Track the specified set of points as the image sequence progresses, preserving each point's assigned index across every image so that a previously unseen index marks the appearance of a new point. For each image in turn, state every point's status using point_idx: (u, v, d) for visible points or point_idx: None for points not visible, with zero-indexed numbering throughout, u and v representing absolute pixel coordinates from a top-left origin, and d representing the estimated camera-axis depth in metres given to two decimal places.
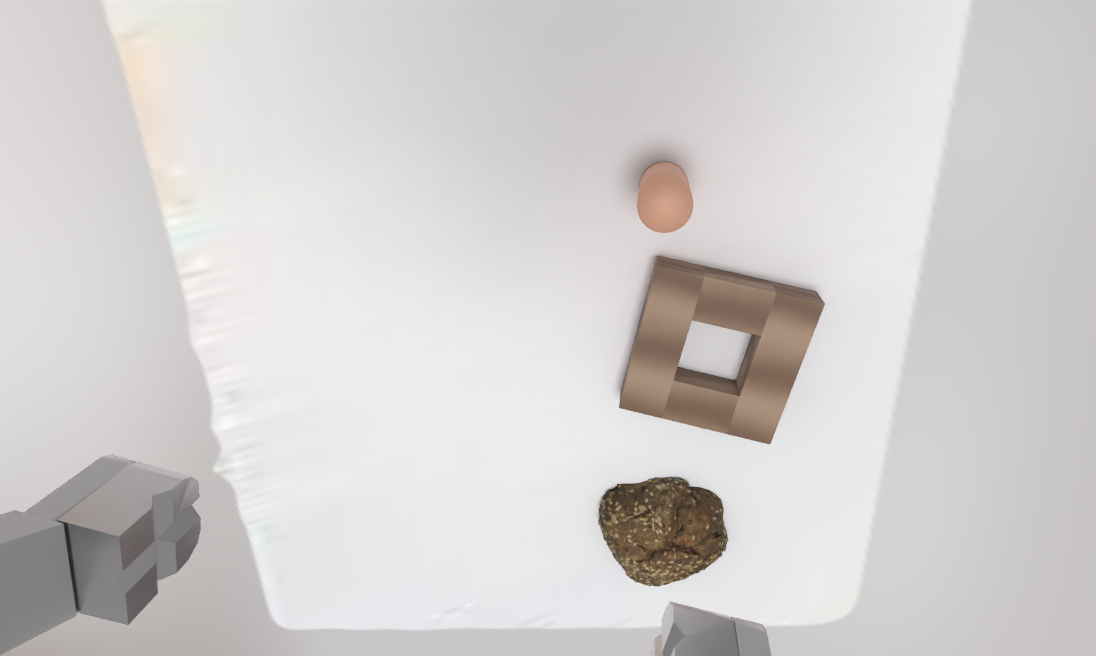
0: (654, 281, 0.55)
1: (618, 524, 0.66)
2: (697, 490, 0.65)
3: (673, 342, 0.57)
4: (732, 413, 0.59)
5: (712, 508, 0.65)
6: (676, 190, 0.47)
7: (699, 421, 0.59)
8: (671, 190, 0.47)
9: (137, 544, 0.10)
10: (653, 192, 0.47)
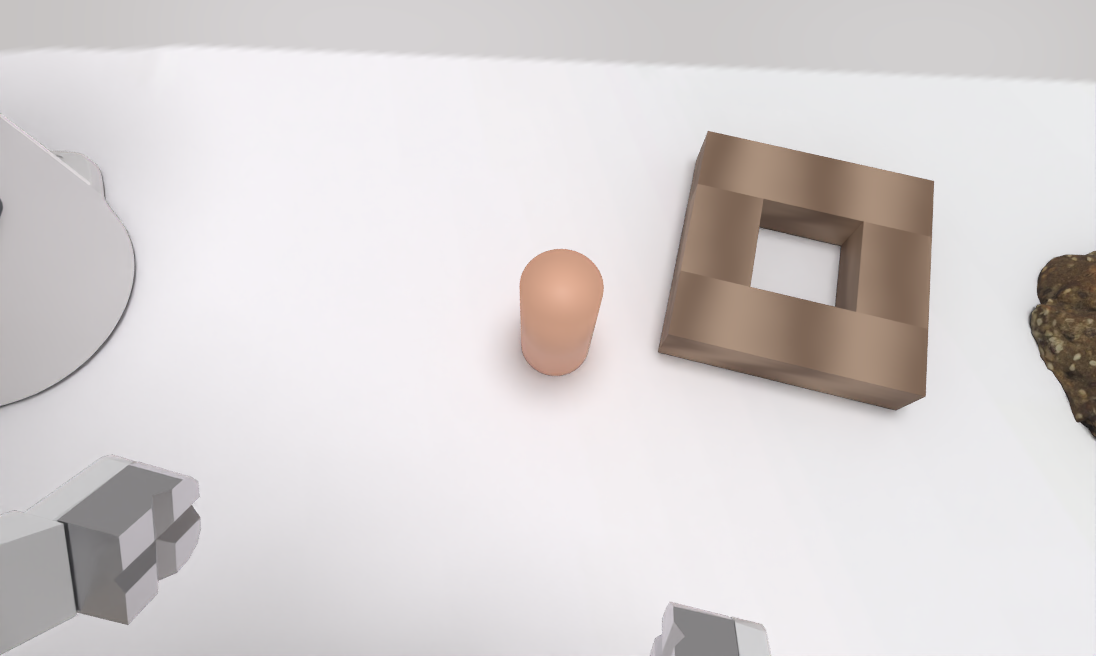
0: (693, 338, 0.36)
1: None
2: (1043, 292, 0.40)
3: (791, 311, 0.36)
4: (894, 229, 0.39)
5: (1071, 264, 0.40)
6: (538, 270, 0.31)
7: (919, 274, 0.38)
8: (538, 277, 0.31)
9: (137, 544, 0.10)
10: (540, 302, 0.31)
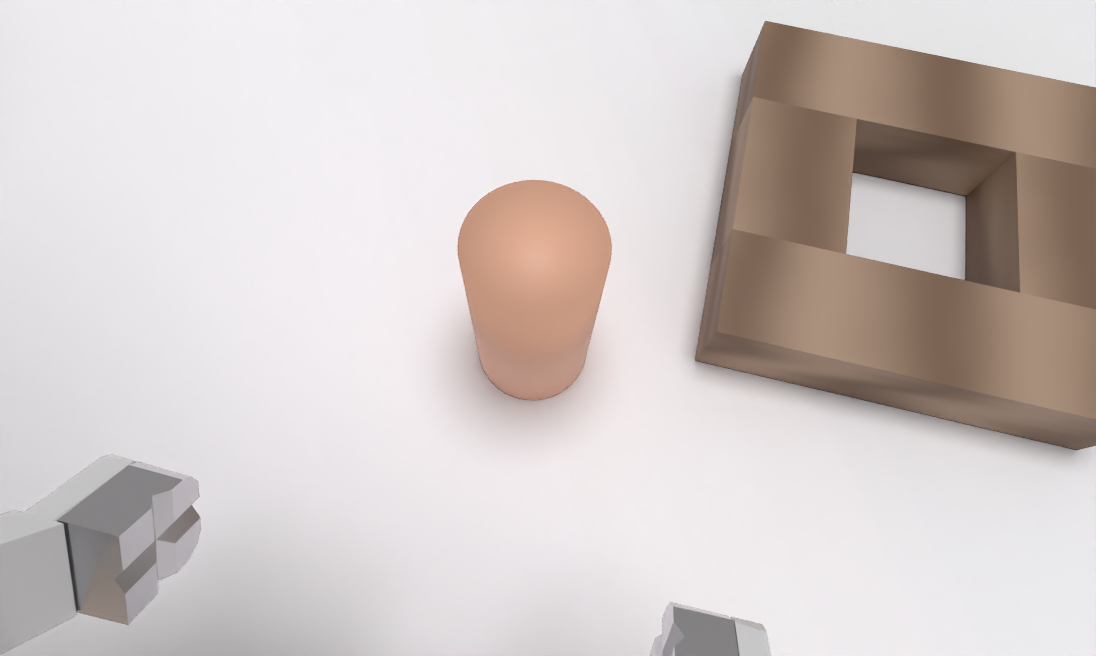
0: (758, 338, 0.22)
1: None
2: None
3: (915, 293, 0.22)
4: (1065, 164, 0.24)
5: None
6: (493, 218, 0.17)
7: None
8: (492, 229, 0.17)
9: (137, 544, 0.10)
10: (495, 274, 0.17)
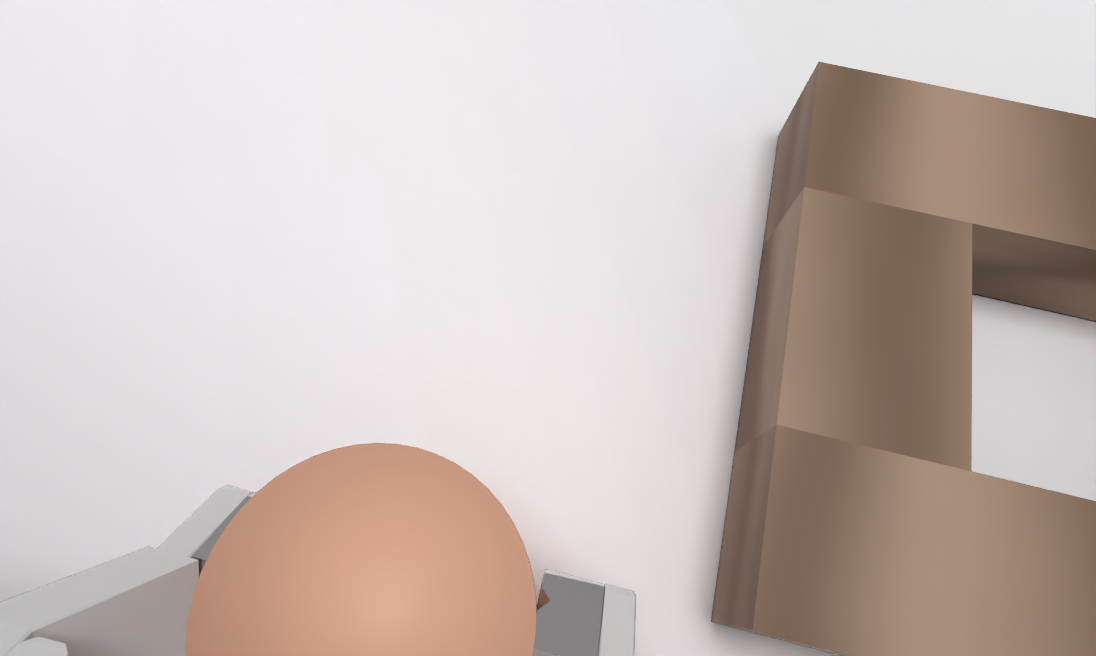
0: (827, 643, 0.12)
1: None
2: None
3: None
4: None
5: None
6: (277, 542, 0.08)
7: None
8: (272, 574, 0.08)
9: None
10: None
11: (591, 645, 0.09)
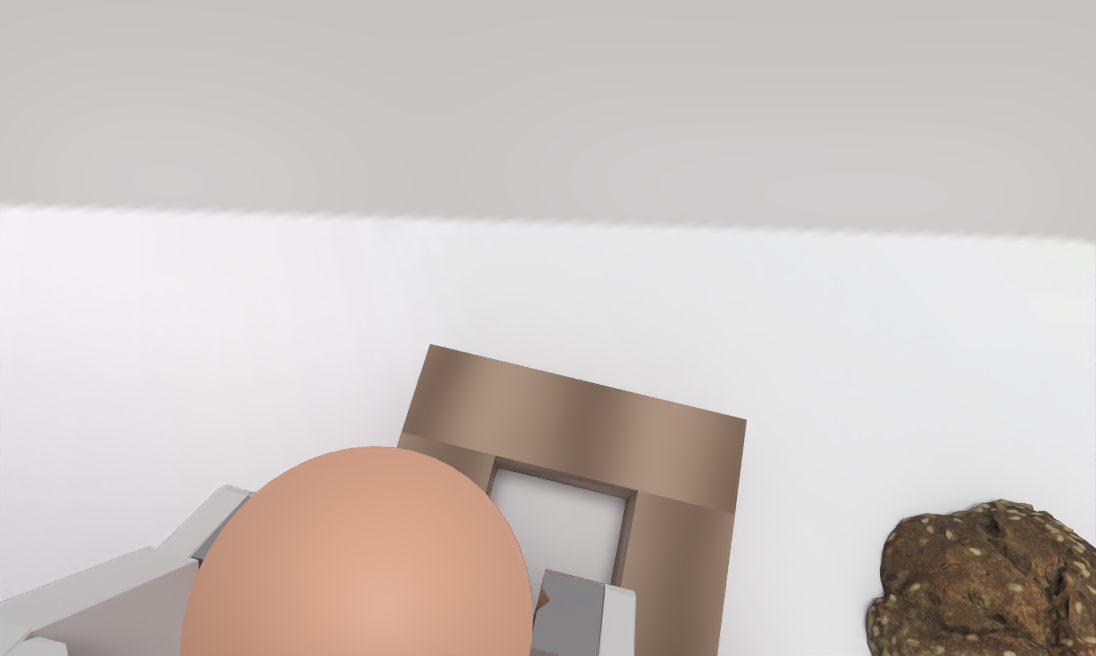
0: None
1: None
2: (887, 576, 0.28)
3: None
4: (681, 503, 0.26)
5: (924, 540, 0.28)
6: (273, 546, 0.08)
7: (710, 579, 0.26)
8: (267, 578, 0.08)
9: None
10: None
11: (591, 645, 0.09)
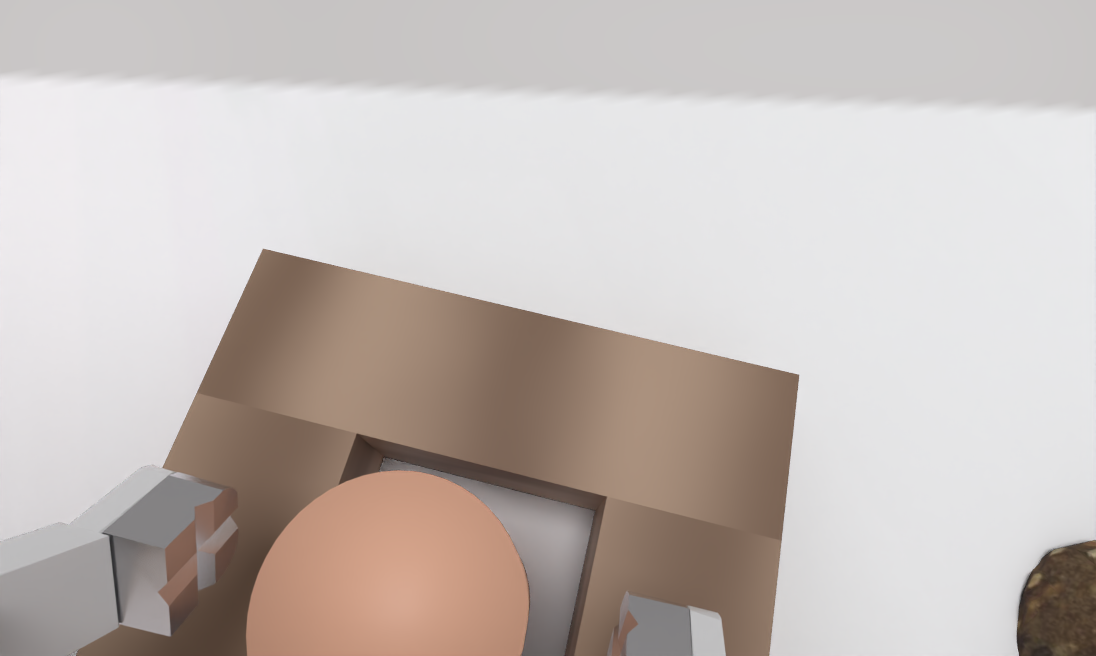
0: None
1: None
2: (1032, 651, 0.16)
3: None
4: (685, 520, 0.15)
5: None
6: (318, 552, 0.10)
7: None
8: (314, 577, 0.10)
9: (180, 556, 0.10)
10: None
11: None
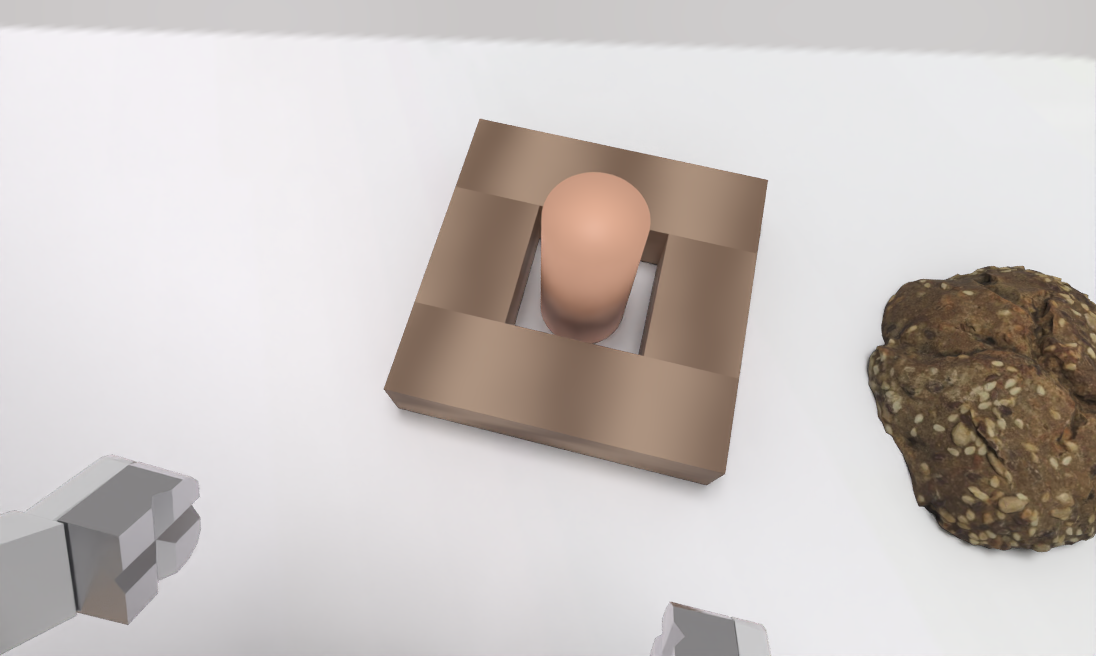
0: (417, 394, 0.26)
1: (1027, 491, 0.26)
2: (887, 329, 0.31)
3: (555, 356, 0.27)
4: (708, 244, 0.29)
5: (921, 293, 0.30)
6: (565, 199, 0.24)
7: (735, 303, 0.28)
8: (565, 207, 0.24)
9: (137, 544, 0.10)
10: (569, 237, 0.24)
11: None
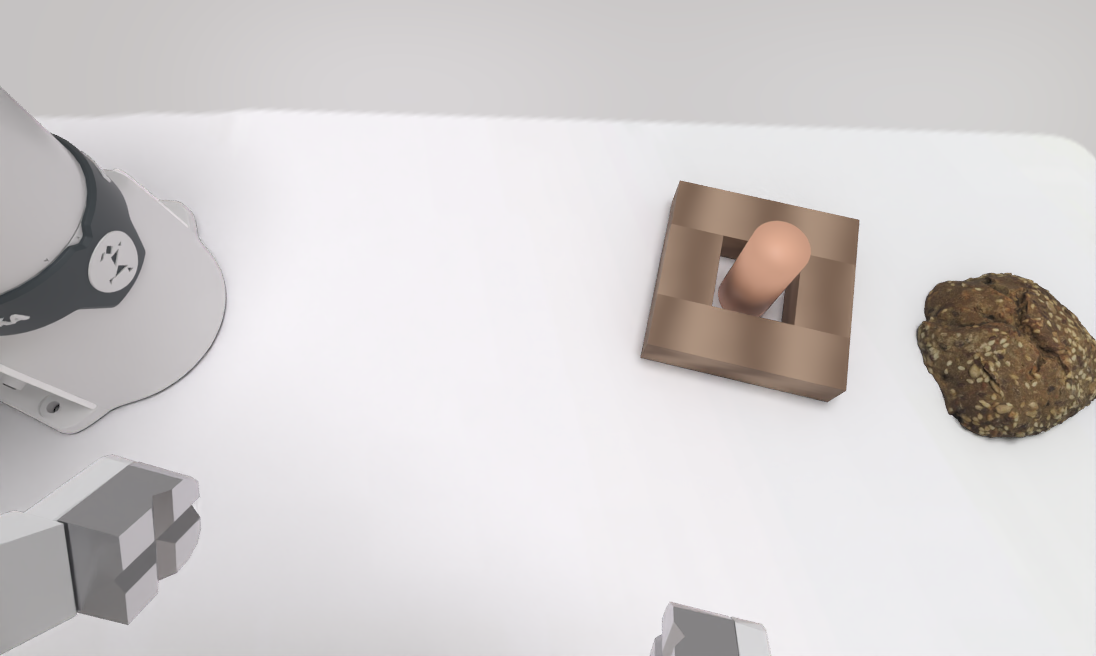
0: (666, 347, 0.46)
1: (1012, 401, 0.46)
2: (928, 311, 0.50)
3: (743, 325, 0.47)
4: (826, 259, 0.49)
5: (949, 289, 0.50)
6: (762, 236, 0.44)
7: (844, 294, 0.48)
8: (763, 240, 0.44)
9: (137, 544, 0.10)
10: (767, 258, 0.43)
11: None
